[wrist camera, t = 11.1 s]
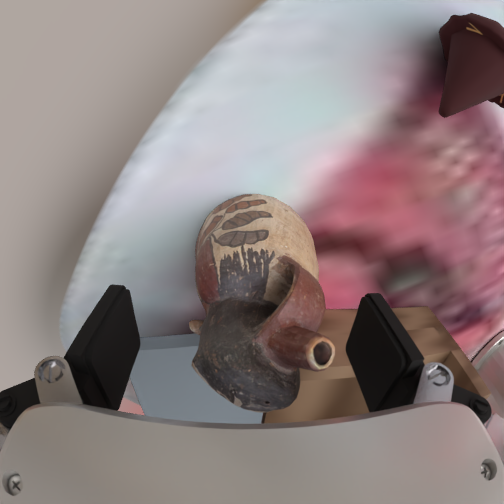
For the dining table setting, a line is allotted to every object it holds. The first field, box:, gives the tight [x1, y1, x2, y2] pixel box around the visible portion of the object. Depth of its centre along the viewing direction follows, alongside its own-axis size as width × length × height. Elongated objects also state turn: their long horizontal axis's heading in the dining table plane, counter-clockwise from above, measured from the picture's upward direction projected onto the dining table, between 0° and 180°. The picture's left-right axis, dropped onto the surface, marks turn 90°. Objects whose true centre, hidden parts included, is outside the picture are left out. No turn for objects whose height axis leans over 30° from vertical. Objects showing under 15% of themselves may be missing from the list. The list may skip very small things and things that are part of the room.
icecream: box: [439, 13, 504, 118], centre depth 9 cm, size 7×7×15 cm
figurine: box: [189, 194, 335, 413], centre depth 13 cm, size 7×7×12 cm
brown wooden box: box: [261, 306, 491, 424], centre depth 19 cm, size 14×14×11 cm
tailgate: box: [130, 333, 263, 424], centre depth 20 cm, size 2×14×10 cm
